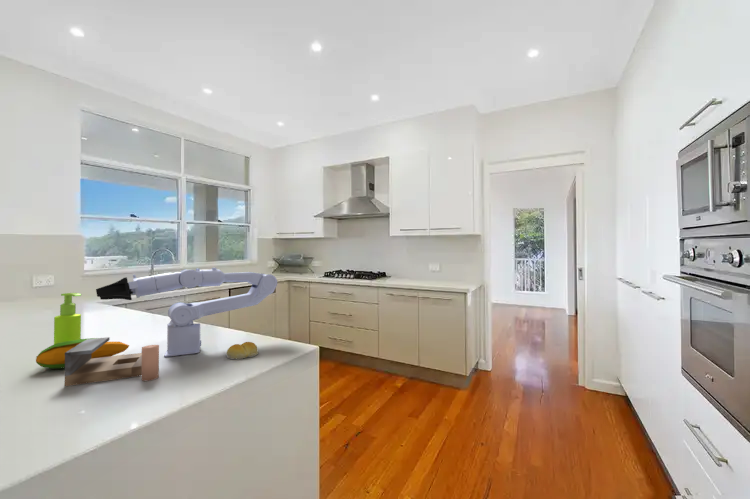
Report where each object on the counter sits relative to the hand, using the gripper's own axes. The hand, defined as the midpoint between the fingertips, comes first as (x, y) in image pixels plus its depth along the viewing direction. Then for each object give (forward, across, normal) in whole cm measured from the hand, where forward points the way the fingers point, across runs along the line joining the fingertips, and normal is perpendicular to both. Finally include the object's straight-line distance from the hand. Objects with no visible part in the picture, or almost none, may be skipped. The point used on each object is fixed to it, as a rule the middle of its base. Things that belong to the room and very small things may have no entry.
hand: (98, 294), depth 91 cm
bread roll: (-32, +10, +29) cm, 44 cm away
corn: (+6, -9, +18) cm, 21 cm away
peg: (-8, +16, +26) cm, 31 cm away
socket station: (-1, +4, +22) cm, 23 cm away
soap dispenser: (+11, -18, +16) cm, 26 cm away
